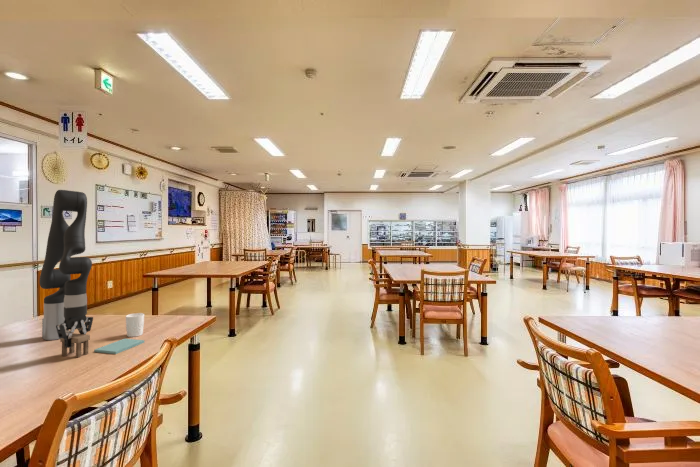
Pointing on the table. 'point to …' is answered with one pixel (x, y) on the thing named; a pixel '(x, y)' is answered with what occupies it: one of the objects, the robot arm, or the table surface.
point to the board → (119, 346)
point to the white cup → (134, 324)
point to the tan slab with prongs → (76, 339)
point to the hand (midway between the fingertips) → (75, 344)
